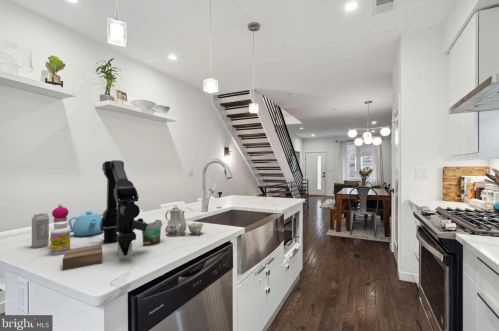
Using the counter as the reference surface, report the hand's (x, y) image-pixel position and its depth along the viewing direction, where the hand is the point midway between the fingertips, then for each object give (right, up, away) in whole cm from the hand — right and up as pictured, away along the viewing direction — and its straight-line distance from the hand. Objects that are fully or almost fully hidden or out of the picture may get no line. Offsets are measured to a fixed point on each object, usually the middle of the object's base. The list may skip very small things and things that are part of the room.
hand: (124, 253), depth 99 cm
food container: (+5, -2, +18) cm, 18 cm away
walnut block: (-13, -1, -6) cm, 14 cm away
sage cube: (0, -1, 0) cm, 1 cm away
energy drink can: (-46, -2, +13) cm, 48 cm away
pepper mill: (-36, -2, +12) cm, 38 cm away
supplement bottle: (-30, -2, +5) cm, 31 cm away
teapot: (-37, -2, +34) cm, 50 cm away
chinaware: (+13, -2, +36) cm, 38 cm away
